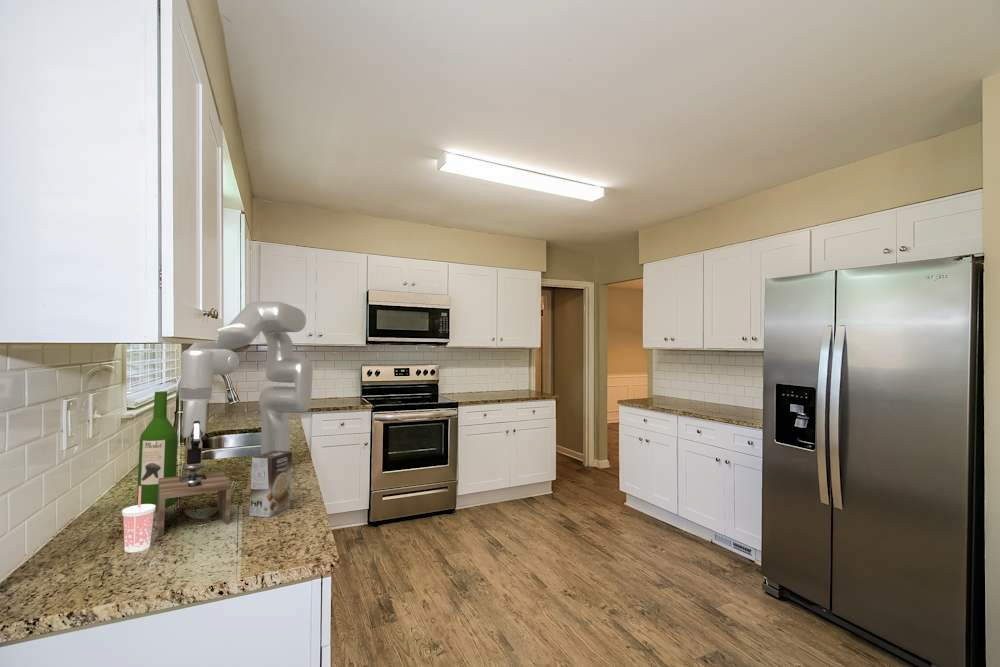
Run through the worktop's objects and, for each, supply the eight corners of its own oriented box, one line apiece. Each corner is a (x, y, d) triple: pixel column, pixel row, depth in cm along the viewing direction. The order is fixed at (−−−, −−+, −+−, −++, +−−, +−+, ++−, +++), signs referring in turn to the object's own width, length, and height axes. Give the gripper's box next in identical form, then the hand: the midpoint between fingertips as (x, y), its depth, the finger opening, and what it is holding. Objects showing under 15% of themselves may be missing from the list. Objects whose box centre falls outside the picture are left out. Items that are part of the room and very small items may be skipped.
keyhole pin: (180, 484, 129) (182, 441, 129) (202, 481, 132) (204, 439, 132) (181, 488, 125) (183, 444, 125) (204, 485, 128) (205, 442, 128)
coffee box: (269, 518, 127) (271, 458, 128) (248, 516, 129) (250, 456, 129) (291, 507, 136) (292, 451, 137) (271, 505, 138) (273, 449, 138)
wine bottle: (132, 512, 130) (137, 393, 131) (141, 502, 138) (146, 390, 139) (171, 508, 134) (176, 392, 135) (178, 498, 142) (182, 390, 143)
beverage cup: (157, 541, 111) (160, 481, 112) (148, 552, 105) (151, 488, 106) (126, 544, 109) (129, 483, 109) (115, 555, 103) (118, 491, 104)
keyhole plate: (157, 515, 128) (158, 478, 128) (221, 505, 137) (222, 470, 137) (158, 536, 114) (160, 494, 114) (229, 523, 123) (230, 484, 123)
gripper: (177, 392, 134) (174, 458, 133) (181, 397, 120) (178, 470, 120) (208, 391, 138) (206, 455, 137) (215, 396, 125) (212, 466, 124)
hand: (193, 461), depth 128 cm, fingers closed on keyhole pin, 3 cm apart
